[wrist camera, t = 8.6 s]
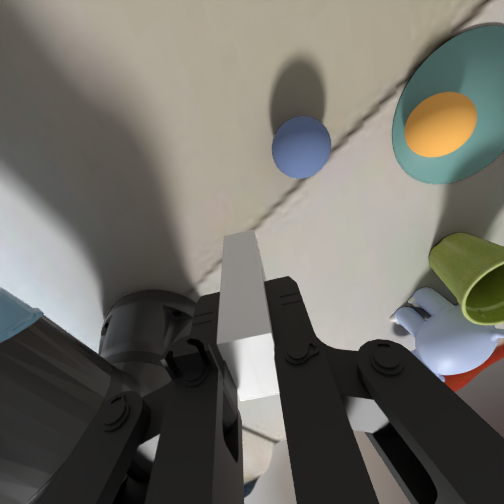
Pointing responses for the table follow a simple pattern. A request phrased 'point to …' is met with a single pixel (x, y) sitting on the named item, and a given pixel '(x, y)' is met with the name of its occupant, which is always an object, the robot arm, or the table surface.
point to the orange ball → (440, 124)
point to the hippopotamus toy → (446, 334)
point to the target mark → (469, 84)
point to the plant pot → (472, 275)
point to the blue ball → (301, 147)
